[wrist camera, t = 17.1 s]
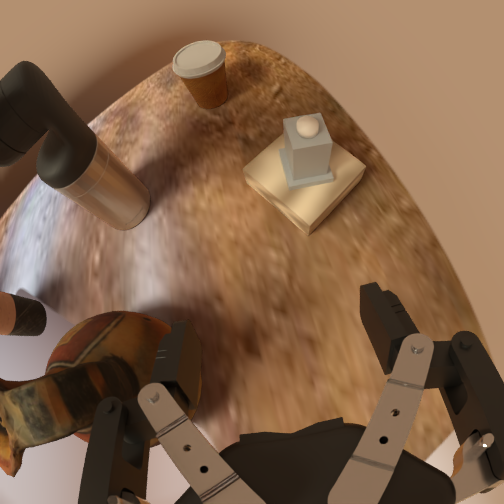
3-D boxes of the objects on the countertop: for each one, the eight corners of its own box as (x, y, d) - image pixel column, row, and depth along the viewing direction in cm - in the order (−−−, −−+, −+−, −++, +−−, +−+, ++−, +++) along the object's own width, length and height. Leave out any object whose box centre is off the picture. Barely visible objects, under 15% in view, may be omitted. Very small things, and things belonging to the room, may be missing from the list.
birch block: (247, 184, 48) (242, 169, 43) (300, 136, 49) (300, 118, 44) (308, 236, 44) (309, 225, 39) (360, 181, 45) (366, 166, 41)
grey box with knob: (289, 190, 41) (287, 151, 31) (278, 153, 43) (274, 109, 33) (332, 182, 41) (342, 141, 31) (320, 145, 42) (325, 101, 32)
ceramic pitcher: (81, 343, 44) (-67, 332, 15) (172, 291, 44) (19, 229, 16) (130, 446, 39) (-1, 513, 10) (233, 407, 39) (135, 520, 10)
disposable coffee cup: (227, 116, 51) (213, 71, 40) (182, 113, 53) (161, 72, 42) (241, 83, 53) (231, 38, 42) (198, 81, 55) (183, 40, 44)
